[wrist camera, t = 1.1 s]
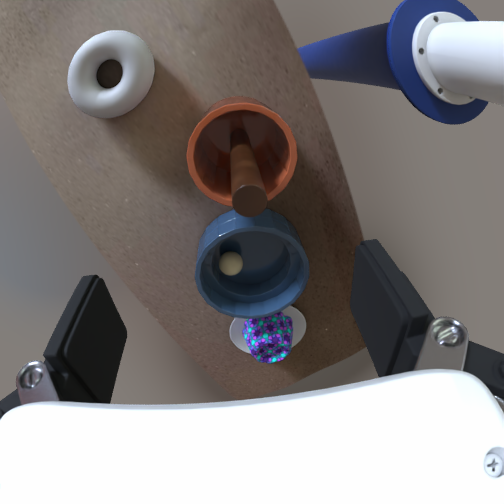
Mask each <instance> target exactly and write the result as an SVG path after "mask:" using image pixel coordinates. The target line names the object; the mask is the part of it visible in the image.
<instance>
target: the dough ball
mask: <svg viewBox="0 0 504 504" xmlns="http://www.w3.org/2000/svg"><path fill="white" fill-rule="evenodd" d="M242 266H243V261H242V258H241V256H240V255H239V254H238V253H236V252H233V251H229V252H226V253H224V254H223V255H222V256H221V257H220V259H219V268H220V270H221V271H222V272H223V273H224V274H226V275H235V274H237V273H239V272H240V271H241V269H242Z"/></svg>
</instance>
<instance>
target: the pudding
mask: <svg viewBox="0 0 504 504" xmlns="http://www.w3.org/2000/svg"><path fill="white" fill-rule="evenodd" d="M305 331H306V320H305V318H304V316H303V315H302V313H301V312H300V311H298V310H297V309H296V308H294V307H292V306H288V307H287V308H286V309H284V310H283V311H281V312H279V313H276V314H273V315H271V316H268V317H263V318H255V319H243V318H235V319H234V320H233V322H232V324H231V327H230V337H231V340H232V342H233V343H234V344H235V345H236V346H237V347H238V348H239V349H241V350H242V351H244V352H247V353H250V354H252V356H253V357H255V359H256V360H257V361H258V362H262V363H263V362H266V363H268V364H272V363H275V362H279V361H282V360H284V359H285V357H286V356H288V355H289V354H290V352H291V348H292V347H293V346H295V345H296V344H297V343H298V342H299V341H300V340H301V339H302V337H303V335H304V334H305Z"/></svg>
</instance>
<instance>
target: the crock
mask: <svg viewBox="0 0 504 504" xmlns="http://www.w3.org/2000/svg"><path fill="white" fill-rule="evenodd" d="M236 129H243V130H245V131H246V132H247V134H248V137H249V140H250V143H251V146H252V149H253V152H254V155H255V159H256V162H257V165H258V168H259V171H260V174H261V178H262V181H263V184H264V187H265V191H266V194H267V197H268V201H269V200H271V199H273V198H274V197H275V196H276V195H277V194H279V193H280V192H281V191H282V190H283V189H284V188H285V187H286V185H287V184H288V182H289V181H290V179H291V178H292V176H293V174H294V170H295V167H296V163H297V145H296V141H295V139H294V136H293V134H292V131H291V129H290V128H289V126H288V125H287V124H286V123H285V122H284V120H283V119H282V118H281V117H280V116H279V115H278V114H277V113H275V112H274V111H273V110H272V109H270V108H269V107H268V106H267V105H265V104H263V103H262V102H260V101H258V100H256V99H254V98H249V97H243V96H236V97H229V98H226V99H223V100H221V101H219V102H217V103H215V104H214V105H212V106H211V107H210V108H209V109H208V110H207V111H206V112H205V113H204V115H203V116H202V118H201V119H200V121H199V123H198V124H197V126H196V128H195V130H194V131H193V133H192V135H191V137H190V139H189V143H188V149H187V163H188V168H189V173H190V175H191V177H192V179H193V180H194V182H195V184H196V186H197V187H198V188H199V189H200V190H201V191H202V192H203V193H204V194H205V195H206V196H207V197H208V198H210V199H212V200H214V201H216V202H218V203H221V204H223V205H226V206H232V196H231V164H230V134H231V133H232V132H233V131H234V130H236ZM232 207H233V206H232Z"/></svg>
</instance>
